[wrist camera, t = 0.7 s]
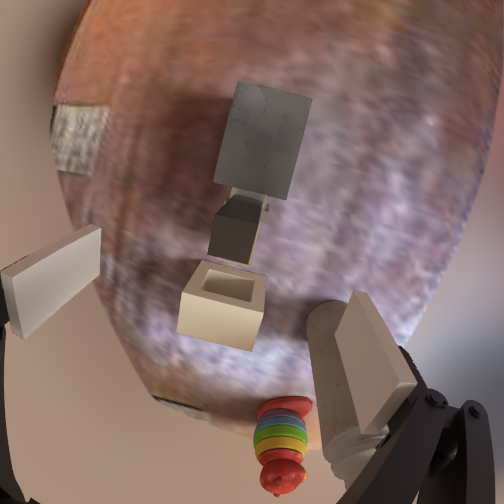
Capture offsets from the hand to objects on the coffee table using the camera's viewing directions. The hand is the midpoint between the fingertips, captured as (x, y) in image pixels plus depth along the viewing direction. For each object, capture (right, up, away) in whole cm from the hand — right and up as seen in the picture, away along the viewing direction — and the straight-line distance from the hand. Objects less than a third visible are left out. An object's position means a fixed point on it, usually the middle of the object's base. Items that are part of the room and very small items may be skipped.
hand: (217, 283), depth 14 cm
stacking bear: (+7, -29, +35) cm, 46 cm away
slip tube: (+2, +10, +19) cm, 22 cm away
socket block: (-1, -3, +27) cm, 27 cm away
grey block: (+3, +15, +20) cm, 25 cm away
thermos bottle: (+14, -9, +28) cm, 32 cm away
